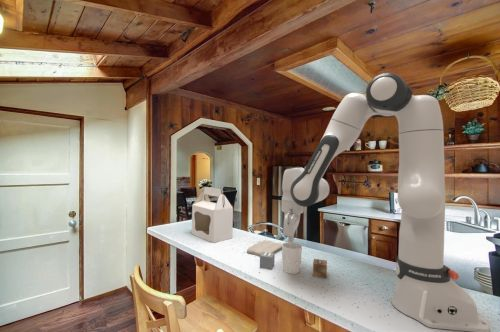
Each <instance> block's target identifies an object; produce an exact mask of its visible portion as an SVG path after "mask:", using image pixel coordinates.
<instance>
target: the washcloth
mask: <svg viewBox="0 0 500 332" xmlns="http://www.w3.org/2000/svg"><path fill="white" fill-rule="evenodd" d="M282 244H283V243H279V242H275V241H271V240H267V239H265V240H263V241H262V240H261V241H258V242H257V243H255V244H252V245H251V246H250V247H248V248H247V249H246V252H247V254H250V255H255V256H257V257H260V255H261V254H262V253H263V252H268V253H275V255H276V254H278V253H279V252H280V251H282Z"/></svg>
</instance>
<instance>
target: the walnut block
mask: <svg viewBox="0 0 500 332" xmlns="http://www.w3.org/2000/svg"><path fill="white" fill-rule="evenodd" d="M327 268H328V260H325V259H319V258H313V261H312V277H315V278H322V279H328V277H327V275H328V274H327V273H328V269H327Z"/></svg>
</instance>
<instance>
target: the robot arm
mask: <svg viewBox="0 0 500 332" xmlns="http://www.w3.org/2000/svg"><path fill="white" fill-rule="evenodd" d="M413 92H414V91H413V90H412V89H411V87H410V86H409V85H408V84H407V83H406V81H405V80H404V78H402V77H401V76H399V75H398V74H397V73H392V72H384V73H380V74H378V75H375V76H374V77H373V78H372V79H371V80H370V81H369V83H368V84H367V87H366V90H365V93H361V92H351V93H347V94H346V95H345V96H344V97H343V98H342V100H341V101H340V103H339V104H338V106H337V107H336V109H335V111H334V113H333V114H332V117H331V118H330V121H329V123H328V124H327V127H326V130H325V132H324V133H323V136H322V138H321V139H320V142H319V143H318V145H317V146H316V148H315V150H314V152H313V154H312V155H311V156H310V158H309V161H308V162H307V164H306V166H305V168H303V167H302V166H293V167H288V168H286V169H285V170H284V172H283V176H282V185H281V189H282V197H281V206H280V207H281V209H280V211H281V212H282V213H284V215H283V216H284V218H283V228H282V229H283V230H282V233H283V234H282V236H284V237H287V238H288V241H287V242H290V243H294V240H295V233H296V231H297V228H298V227H299V224H300V220H301V214H304V211H305V208H306V207H307V208H308V207H310V206H312V205H314V204H316V203H319V202H322V201H323V200H325V199H326V198H327V197H328V196H329V195H330V191H331V190H330V184H329V183H328V181H327V180H326V179H325V178H323V177H324V175H325V173H326V171H327V169H328V168H329V166H330V164H331V162H332V161H333V160H334V159H335V157H337V156H338V155H340V154H341V153H343V152H345V151H347V150H349V149H351V147H352V146H353V145H354V144H355V143H356V141H357V139H358V138H359V137H360V135H361V132H362V131H363V129H364V127H365V124H366V123H367V121H368V120H369V119H370V118H371V117H372V118H394V117H395V118H396V120H397V122H398V149H399V150H398V156H399V160H398V161H399V162H398V172H397V175H398V176H397V202H398V203H397V204H398V206H399V207H400V209H401V216H400V217H401V218H400V223H399V224H400V225H399V231H398V255H397V257H396V263H395V268H396V269H395V273H396V280H395V281H396V282H395V285H394V286H395V287H394V290H393V294H392V297H391V299H390V301H391V304H392V306H393V307H395V309H396V310H398V311H400V313H402V314H404V315H406V316H408V317H410V318H413V319H415V320H417V321H418V322H420V323H421V324H422V325H425V326H426V327H428V328H432V329H443V330H451V331H463V332H464V331H465V332H490V324H489V323H488V321H487V320H486V319H485V317H484V316H483V315H481V313H479V311H478V308H477V305H476V302H475V301H474V298H472V297H471V295H470V294H469V293H467V291H466V290H464V289H463V288H462V287H461V286H459V285H458V284H457V283H456V282H455V281H458V279H460V275H459V274H458V273H457V272H456V271H455V270H453V269H451V268H450V267H449V266H447V265H445V264H444V252H445V250H444V249H445V224H446V222H445V219H446V182H445V181H446V178H445V177H446V174H445V172H446V171H445V140H444V121H443V115H442V111H441V106H440V103H439V102H440V101H439V100H438V99H437V98H436V97H434V96H432V95H428V94H420V95H419V94H418V95H413V94H414V93H413Z"/></svg>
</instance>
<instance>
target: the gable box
mask: <svg viewBox="0 0 500 332" xmlns="http://www.w3.org/2000/svg"><path fill="white" fill-rule="evenodd" d="M209 196H213V197H218V198H217V200H216V202H213V201H211V200H210V197H209ZM191 207H192V209H191V235H194V236H196V237H197V238H200V239H202V240H204V241H208V242H210V243H212V244H215V243H219V242H222V241H223V242H224V241H227V240H231V239H233V228H234V226H233V223H234V221H233V220H234V218H233V217H234V214H233V213H234V207H233V206H232V204H231V203H230V201H229V199H228V198H227V197H226V195H225V194H224V190H222V189H221V188H216V187H210V186H204V187H203V191H200V193H199V195H198V196H197V198H196V199H195V201H194V202H193V203H192V206H191Z"/></svg>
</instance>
